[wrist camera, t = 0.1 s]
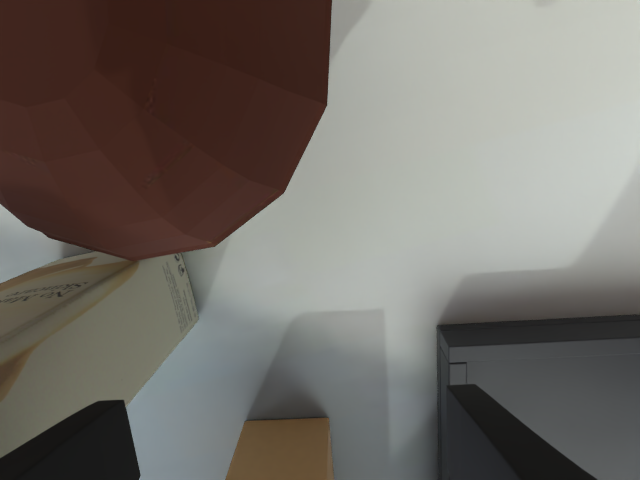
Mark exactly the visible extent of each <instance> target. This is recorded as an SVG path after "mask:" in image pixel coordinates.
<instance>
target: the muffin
mask: <svg viewBox="0 0 640 480" xmlns="http://www.w3.org/2000/svg"><path fill="white" fill-rule="evenodd" d="M331 8H332V0H0V204H1V205H2V206H4V207H5V208H6V209H7V210H8V211H10V212H11V213H12V214H13V215H14V216H16V217H17V218H18V219H19V220H20V221H22V222H23V223H24V224H25V225H26V226H28V227H30V228H33V229H35V230H38V231H40V232H42V233H44V234H45V235H46V236H47V237H49V238H52V239H55V240H59V241H62V242H66V243H69V244H73V245H76V246H80V247H84V248H87V249H91V250H94V251H98V252H101V253H105V254H108V255H112V256H115V257H119V258H123V259H126V260H130V261H137V260H143V259H148V258H154V257H159V256H165V255H171V254H176V253H182V252H187V251H193V250H198V249H204V248H209V247H215V246H216V245H217V244H219V243H220V242H221V241H223V240H224V239H225V238H226V237H228V236H229V235H230V234H232V233H233V232H234V231H235V230H237V229H238V228H239V227H241V226H242V225H243V224H245V223H246V222H247V221H248V220H250V219H251V218H252V217H254V216H255V215H256V214H257V213H259V212H260V211H261V210H263V209H264V208H265V207H267V206H268V205H269V204H270V203H272V202H273V201H274V200H276V199H277V198H278V197H279V196H281V195H282V194H283V193H284V192H285V190H286V188H287V186H288V184H289V181H290V179H291V177H292V175H293V173H294V171H295V169H296V167H297V165H298V163H299V161H300V159H301V157H302V155H303V153H304V151H305V149H306V147H307V145H308V143H309V141H310V139H311V137H312V135H313V133H314V131H315V129H316V127H317V125H318V123H319V121H320V119H321V117H322V115H323V112H324V110H325V108H326V106H327V95H328V73H329V52H330V30H331Z"/></svg>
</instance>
